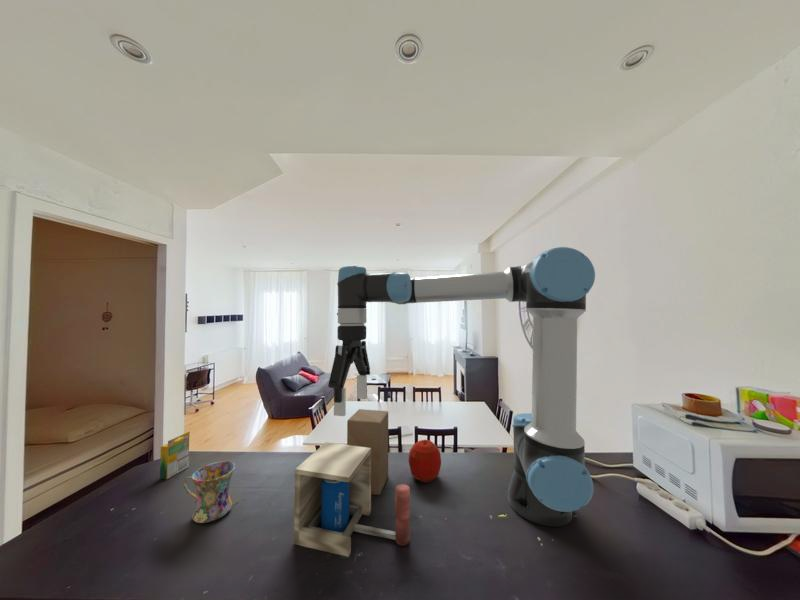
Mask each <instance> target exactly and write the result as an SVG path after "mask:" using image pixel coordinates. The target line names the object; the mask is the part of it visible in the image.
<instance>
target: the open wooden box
mask: <svg viewBox="0 0 800 600" xmlns="http://www.w3.org/2000/svg"><path fill="white" fill-rule="evenodd" d="M323 478H325V479H331V480H337V481H343V482H349V505H354V506H360V507H362V516H363V515H364V516H370V515H371V513H372V494H371V448H367V447H359V446H351V445H347V444H344V443H343V444H342V443H336V442H335V443H334V442H324V443H323V444H322V445H321V446H320V447H318V448H317V449H316V450H315V451H314V452H313V453H312V454H311V455H309V456H308V457H307V458H306V459H305V460H304V461H303V462H301V463H300V464H299V465H298V466H297V467H295V468H294V509H293V511H294V513H293V515H294V517H293V518H294V519H293V522H294V523H293V545H297V546H301V547H304V548H310V549H314V550H317V551H322V552H327V553H331V554H335V555H338V556H339V555H340V556H343V557H347V558H348V557H350V555H351V551H352V537H351V536H350V537H347V536H343V535H338V534H333V533H329V532H324V531H319V530H315V529H310V528H306V527H307V526H308V525H309V523H310V522H311V521H312V520H313V518H314V517H315V516H316V514H317V513H318V512H319V510H320V509H321V494H322V480H323Z"/></svg>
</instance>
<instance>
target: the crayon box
mask: <svg viewBox="0 0 800 600" xmlns="http://www.w3.org/2000/svg"><path fill="white" fill-rule="evenodd" d="M190 433H191V432H190V431H187V432H185V433H183V434H181V435H179V436H176V437H174V438H171V439H169V440H167V443H166V444H163V445H161V446H160V452H159V453H160V455H159V457H160V461H159V463H160V464H159V479H160V480H169V479H170V478H172V477H174V476H175V475H177V474H179V473H181V472H182V471H184V470H186V469H188V468H190V467H189V465H190Z"/></svg>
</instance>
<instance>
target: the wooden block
mask: <svg viewBox="0 0 800 600" xmlns="http://www.w3.org/2000/svg"><path fill="white" fill-rule="evenodd" d="M346 423H347V425H346V427H347V429H346V431H347V433H346V442H347V443H346V445H351V446H359V447H367V448H371V495H373V496H380V495H381V493H382V491H383V489H384V486H385V484H386V481H387V480H388V477H389V411H388V410H379V409H378V410H376V409H360V408H359V409H357V411H355V413H353V414H352V415H351V416H350V417H349V418H348V419H347V422H346Z"/></svg>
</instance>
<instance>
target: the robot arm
mask: <svg viewBox="0 0 800 600" xmlns="http://www.w3.org/2000/svg"><path fill="white" fill-rule="evenodd" d="M337 275H338V276H337V283H336V284H337V313H336V315H337V324H338V326H337V339H338V341H342V344H341V345H336V346H335V350H334V351H335V352H334V354H335V355H334V358H333V363H332V367H331V371H330V376H329V380H328V386H327V387H328V388H329V389H333V416H336V417H345V416H346V413H347V411H346V405H347V403H346V402H347V401H346V397H347V396H346V395H347V393H346V390H347V389H346V387H344V386H345V383H346V381H347V377H348V375H349V371H350V367H351V365H352V364H354V366H355V369H356V371H357V373H358V374H356V399H358V400H359V399H360V400H367V398H368V395H367V394H368V393H367V392H368V388H367V386H368V384H367V381H368V376H370V375H371V371H370V370H371V368H370V367H371V366H370V362H369V358H368V352H367V342H366V339H367V326H366V325H365V324H366V323H367V303H392V304H396V305H407V304H415V303H417V304H418V303H419V304H420V303H438V302H441V303H442V302H458V301H459V302H460V301H462V302H463V301H477V300H478V301H479V300H497V299H498V300H499V299H500V300H501V299H502V300H503V299H505V300H507V301H508V302H510V303H514V302H515V303H516V302H523V303H526V306H525V307H526V309H525V310H526V311H527V312H528V313H529V314H530V315H531V316H532V318H533V322H532V323H533V324H532V329H533V330H532V376H531V377H532V378H531V379H532V381H531V382H532V383H531V386H532V387H531V390H532V391H531V413H529V412H525V413H524V412H523V413H517V414H516V415H514V416H513V420H512V423H513V424H512V429H513V434H512V435H513V469H514V470H513V472H512V476H511V479H510V482H509V483H508V484H509V485H508V488H507V501H508V504H509V506H510V507H511V508H512V509H513V511H514V512H515V513H517V514H518V515H519V516H521V517H522V518H524V519H526V520H528V522H532V523H534V524H537V525H539V526H544V527H551V528H552V527H553V528H554V527H555V528H556V527H563V526H566V525H568V524H569V523H570V522H571V521H572V519H573V512H576V511H578V510H580V509H581V508H583V507H586V506H587V505H588V503H589V502H590V501H591V499H592V497H593V495H594V483H593V479H592V476H591V473H590V471H589V470H588V469H587V467H586V466H585V460H586V459H585V455H586V453H585V452H586V450H585V439H584V438H583V436H581V434H579V432H578V431H577V391H578V390H577V388H578V387H577V382H578V381H577V380H578V379H577V378H578V377H577V371H578V353H577V352H578V319H579V318H580V317H581V316H582V315H583V314H584V313H585V312H586V310H587V309H586V308H587V295H588V293H589V292H590V291H591V289H592V287H593V286H594V284H595V279H596V271H595V267H594V265H593V263H592V261H591V260H590V258H589V257H588V256H587V255H585V254H584V253H583V252H582V251H580V250H578V249H576V248H573V247H568V246H559V247H553V248H551V249H550V248H549V249H548V250H544V251H543V252H541V253H539V254H538V255H537V256H536V257H534V259H533V260H532V261H530V262H529V263H525V264H522V265H518V266H508V267H507V268H506V269H505V270H504V271H502V270H501V271H494V272H491V271H490V272H481V273H480V272H477V273H463V274H462V273H461V274H452V275H451V274H449V275H437V276H435V275H434V276H425V277H424V276H422V277H421V276H420V277H411V276H410V274H409V273H408V272H398V271H393V272H383V273H382V272H381V273H380V272H379V273H368V272H367V269H366V267H364V266H360V265H344V266H341V267H339V270H338V274H337Z"/></svg>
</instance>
